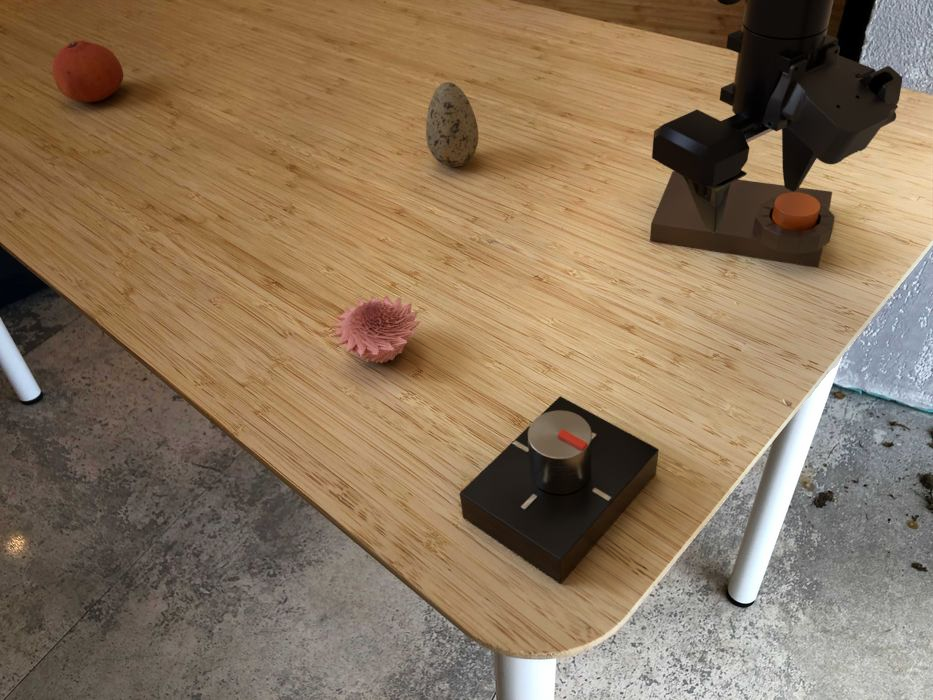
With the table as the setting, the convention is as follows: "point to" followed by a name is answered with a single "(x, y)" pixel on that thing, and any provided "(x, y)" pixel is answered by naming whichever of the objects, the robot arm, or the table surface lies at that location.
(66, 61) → the fruit
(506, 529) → the panel
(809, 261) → the button block
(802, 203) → the button
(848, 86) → the robot arm
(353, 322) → the flower
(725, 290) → the table surface
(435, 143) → the decorative egg
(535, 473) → the dial
